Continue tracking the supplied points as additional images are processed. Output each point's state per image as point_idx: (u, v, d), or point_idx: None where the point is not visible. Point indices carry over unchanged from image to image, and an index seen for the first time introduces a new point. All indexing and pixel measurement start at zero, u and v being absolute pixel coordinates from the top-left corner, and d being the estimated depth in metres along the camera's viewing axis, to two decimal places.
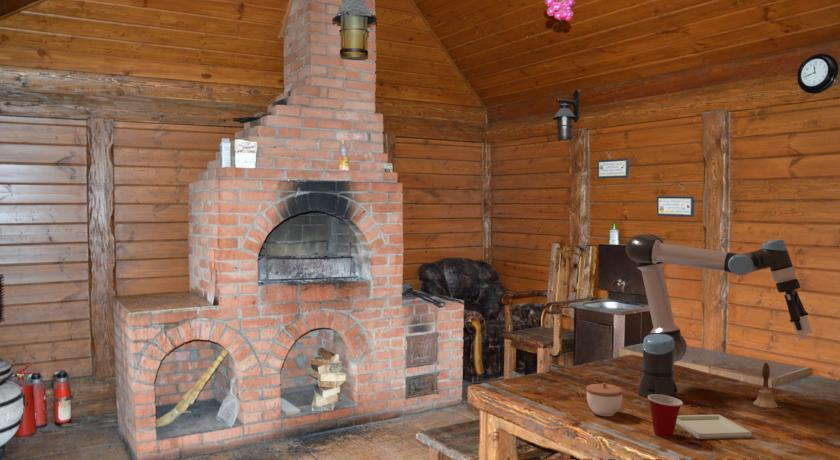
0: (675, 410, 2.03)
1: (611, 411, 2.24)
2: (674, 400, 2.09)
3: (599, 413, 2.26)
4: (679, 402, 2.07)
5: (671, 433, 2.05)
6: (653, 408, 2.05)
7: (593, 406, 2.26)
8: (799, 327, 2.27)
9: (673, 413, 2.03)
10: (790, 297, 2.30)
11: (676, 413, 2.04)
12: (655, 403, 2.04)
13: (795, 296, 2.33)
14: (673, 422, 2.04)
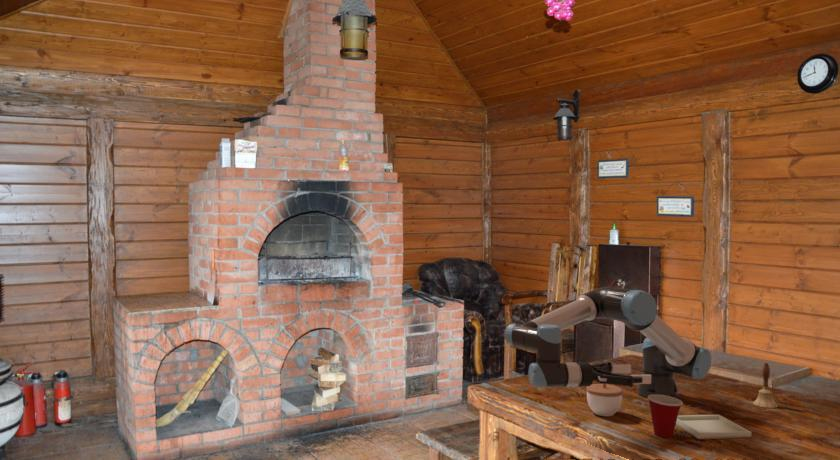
0: (675, 410, 2.03)
1: (611, 411, 2.24)
2: (674, 400, 2.09)
3: (599, 413, 2.26)
4: (679, 402, 2.07)
5: (671, 433, 2.05)
6: (653, 408, 2.05)
7: (593, 406, 2.26)
8: None
9: (673, 413, 2.03)
10: None
11: (676, 413, 2.04)
12: (655, 403, 2.04)
13: None
14: (673, 422, 2.04)
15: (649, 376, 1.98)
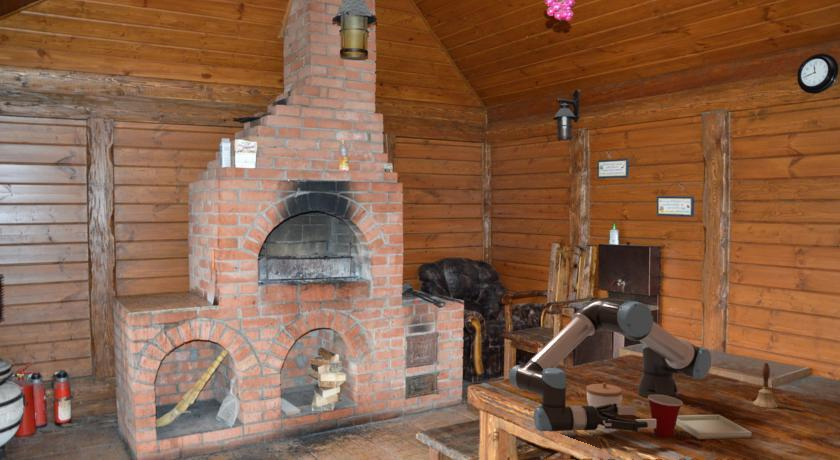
0: (675, 410, 2.03)
1: None
2: (674, 400, 2.09)
3: None
4: (679, 402, 2.07)
5: (671, 433, 2.05)
6: (653, 408, 2.05)
7: None
8: None
9: (673, 413, 2.03)
10: None
11: (676, 413, 2.04)
12: (655, 403, 2.04)
13: None
14: (673, 422, 2.04)
15: (654, 420, 1.99)
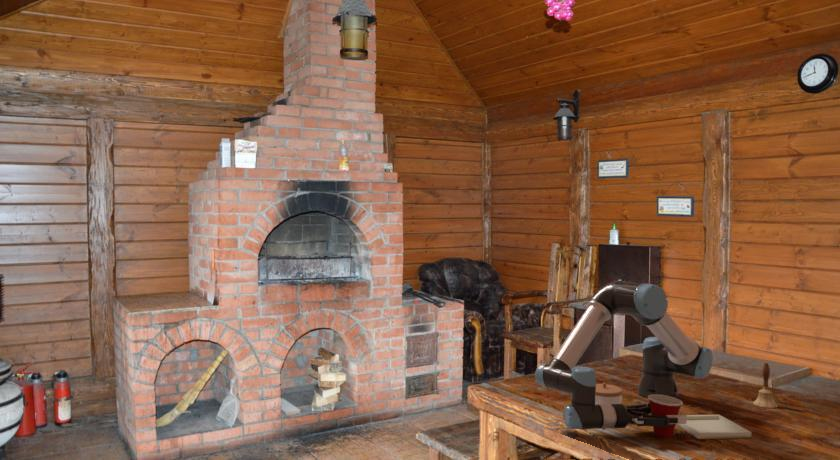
0: (675, 410, 2.03)
1: None
2: (674, 400, 2.09)
3: None
4: (679, 402, 2.07)
5: (671, 433, 2.05)
6: (653, 408, 2.05)
7: None
8: None
9: (673, 413, 2.03)
10: None
11: (676, 413, 2.04)
12: (655, 403, 2.04)
13: None
14: None
15: (684, 416, 2.02)
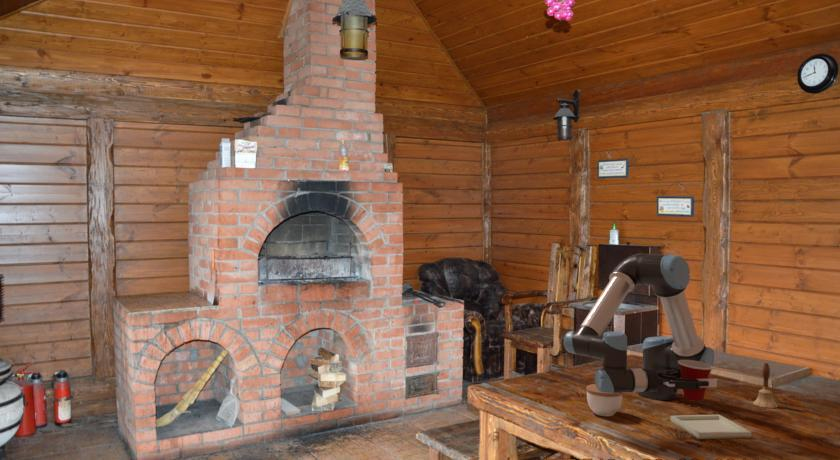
0: (705, 374, 2.06)
1: (611, 411, 2.24)
2: (704, 365, 2.12)
3: (599, 413, 2.26)
4: (709, 366, 2.10)
5: (701, 397, 2.07)
6: (683, 372, 2.08)
7: (593, 406, 2.26)
8: None
9: (703, 377, 2.06)
10: None
11: (706, 377, 2.06)
12: (686, 367, 2.07)
13: None
14: None
15: (715, 380, 2.05)
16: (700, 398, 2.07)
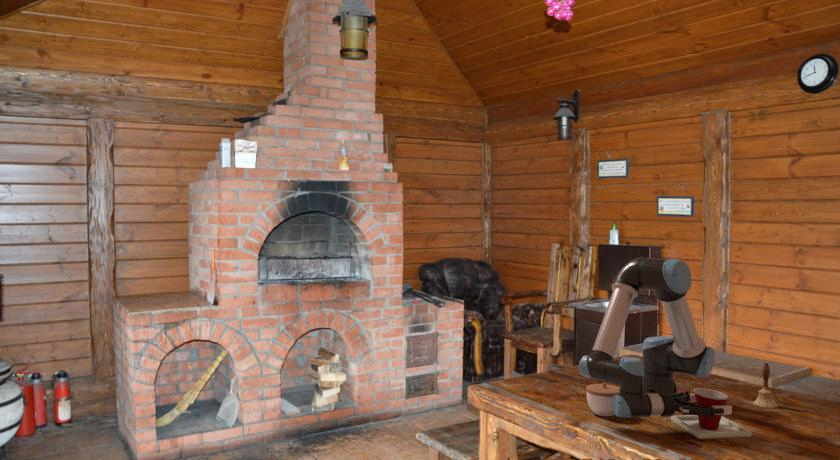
0: (721, 403, 2.08)
1: (611, 411, 2.24)
2: (719, 394, 2.15)
3: (599, 413, 2.26)
4: (724, 396, 2.13)
5: (717, 426, 2.10)
6: (699, 401, 2.11)
7: (593, 406, 2.26)
8: None
9: None
10: None
11: None
12: (701, 397, 2.10)
13: None
14: (719, 415, 2.09)
15: (730, 407, 2.06)
16: (715, 427, 2.10)
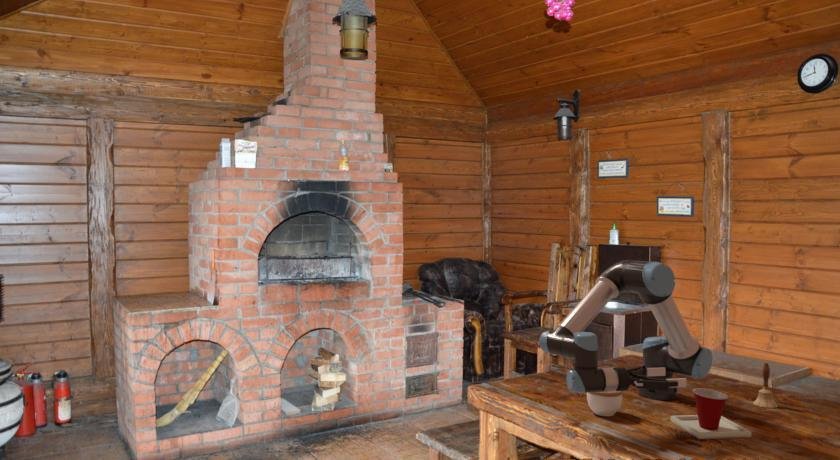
0: (721, 403, 2.09)
1: (611, 411, 2.24)
2: (718, 394, 2.15)
3: (599, 413, 2.26)
4: (724, 396, 2.13)
5: (716, 426, 2.10)
6: (699, 401, 2.11)
7: (593, 406, 2.26)
8: None
9: (719, 406, 2.09)
10: None
11: (722, 406, 2.09)
12: (701, 396, 2.10)
13: None
14: (719, 415, 2.10)
15: (684, 380, 2.04)
16: (715, 427, 2.10)
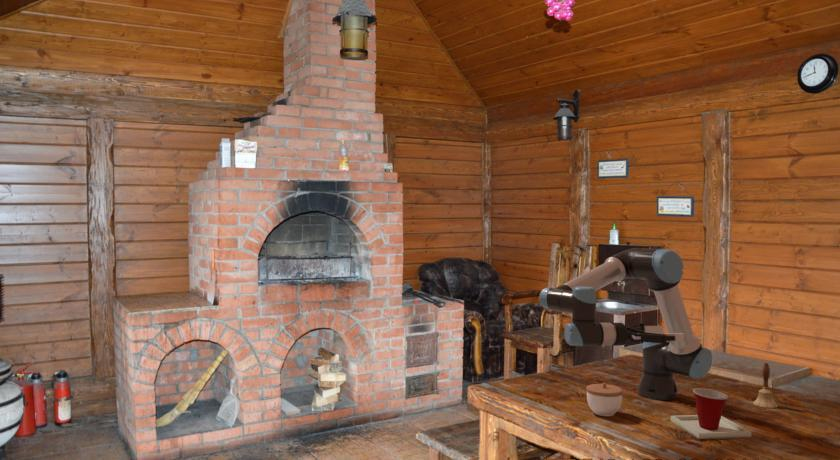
0: (721, 403, 2.09)
1: (611, 411, 2.24)
2: (718, 394, 2.15)
3: (599, 413, 2.26)
4: (724, 396, 2.13)
5: (716, 426, 2.10)
6: (699, 401, 2.11)
7: (593, 406, 2.26)
8: None
9: (719, 406, 2.09)
10: None
11: (722, 406, 2.09)
12: (701, 397, 2.10)
13: None
14: (719, 415, 2.10)
15: (682, 334, 2.06)
16: (715, 427, 2.10)
